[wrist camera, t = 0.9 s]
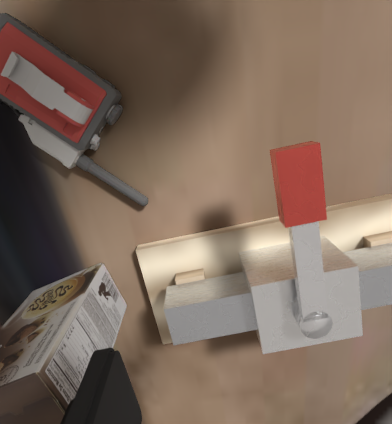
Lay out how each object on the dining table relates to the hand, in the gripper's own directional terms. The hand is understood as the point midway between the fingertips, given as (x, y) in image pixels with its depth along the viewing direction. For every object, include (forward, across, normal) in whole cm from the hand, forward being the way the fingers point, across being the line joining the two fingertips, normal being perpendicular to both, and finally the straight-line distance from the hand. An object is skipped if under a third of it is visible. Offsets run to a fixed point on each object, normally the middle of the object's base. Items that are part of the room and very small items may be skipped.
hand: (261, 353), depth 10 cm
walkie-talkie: (+24, +11, -10) cm, 28 cm away
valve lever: (+14, -6, +4) cm, 16 cm away
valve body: (+22, -6, +10) cm, 25 cm away
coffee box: (+24, +17, +9) cm, 31 cm away
